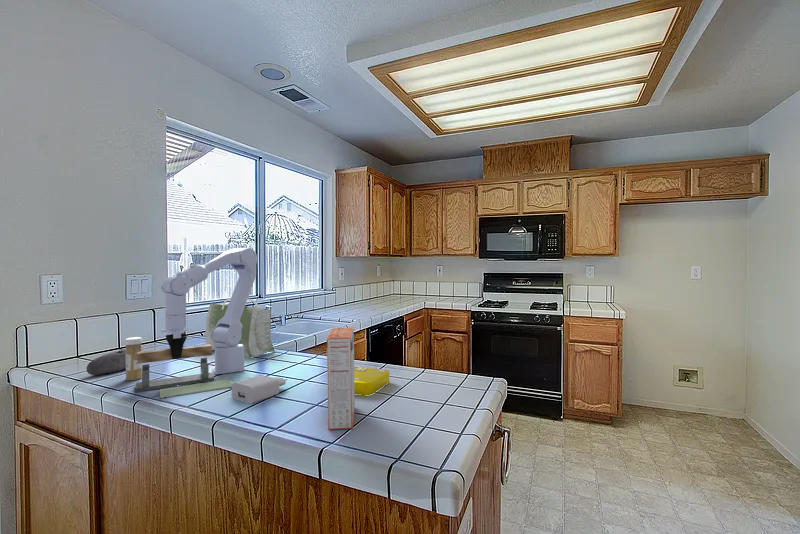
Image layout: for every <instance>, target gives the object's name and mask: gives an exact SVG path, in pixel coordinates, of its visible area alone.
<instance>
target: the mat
mask: <svg viewBox="0 0 800 534" xmlns="http://www.w3.org/2000/svg"><path fill="white" fill-rule="evenodd" d="M232 383H233V382H232V381H231V380H230V379H221V380H214V381H208V382H201V383H194V384H187V385H181V386H174V387H167V388H160V389H159V399H160V398H161V399H165V398H164V397H168V398H170V397H169V396H174V397H176V396H175V395H180V396H184V395H185V394H186V395H191V393H193V394H199V393H204V392H210V391H216V390H222V389H223V390H224V389H229V388H232ZM198 392H199V393H198ZM186 395H185V396H186Z"/></svg>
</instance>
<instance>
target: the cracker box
mask: <svg viewBox="0 0 800 534" xmlns="http://www.w3.org/2000/svg"><path fill="white" fill-rule="evenodd" d="M354 335H355V334H354V327H333V328H332V329H331V331H330V332H329V335H328V336H327V338H326V367H327V368H326V370H327V371H326V373H327V374H326V375H327V414H328V415H327V417H328V419H327V429H328V430H329V431H331V430H332V431H334V430H348V429H349V430H350V429H351V430H352V429H354V420H355V419H354V418H355V404H356V403H355V401H356V400H355V398H356V395H355V390H354V366H355V340H354V337H355V336H354Z"/></svg>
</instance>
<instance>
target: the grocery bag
mask: <svg viewBox="0 0 800 534" xmlns="http://www.w3.org/2000/svg"><path fill="white" fill-rule="evenodd" d="M230 299H231V297H229V298H227V299H225V300H224V301H223V303H210V304H209V308H208V311H207V314H206V321H205V332H204V333H205V335H204V336H205V337H204V340H205V342H204V345H208V344H211V346H212V351H214V350H215V345H214V342H213V341H212V339H211V331H212V329H213V328H214V327H215V326H216V325H217V323H218V321H219V320H220V319H221V318H223V317H224V315H225V312H226V310H227V307H228V304H229V303H227V302H230ZM249 301H250V302H252V303H254V305H255V306H248V305H245V307H244V310H243V313H242V316H241V318H240V322H241V324H242V326H243V327H242V330H241V340H240V341H239V343H238V344H243V346H244V356H245V357H244V358H248V357H253V358H256V357H255V356H258V355H261V354H264V353H267V352H270V351H275V352H276V350H275V349H274V345H273V341H272V339H271V332H272V331H271V330H272V329H271V327H272V320H271V319H272V314H271V312H272V311H271V309H268V308H262V307H259V304H258V303H257V301H256V300H255V299H252V298H248V299H247V302H249ZM258 357H259V356H258Z"/></svg>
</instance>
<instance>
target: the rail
mask: <svg viewBox="0 0 800 534" xmlns="http://www.w3.org/2000/svg"><path fill="white" fill-rule="evenodd" d="M212 353H213V350H212V346H211V344H208V345H205V344H201V345H200V344H199V345H192V346H191V345H190V346H183V349H182V354H181V358H180V359H179V360H182V359H190V358H198V357H207V356H208V357H209V356H212V355H213V354H212ZM171 360H172V361H173V360H175V359H172V355H171V349H170V348H162V349H161V348H159V349H151V350H143V351H142V350H141V352H138V353H137V364H140V363H142V364H149V363H154V362H155V363H156V362H163V361H171Z"/></svg>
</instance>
